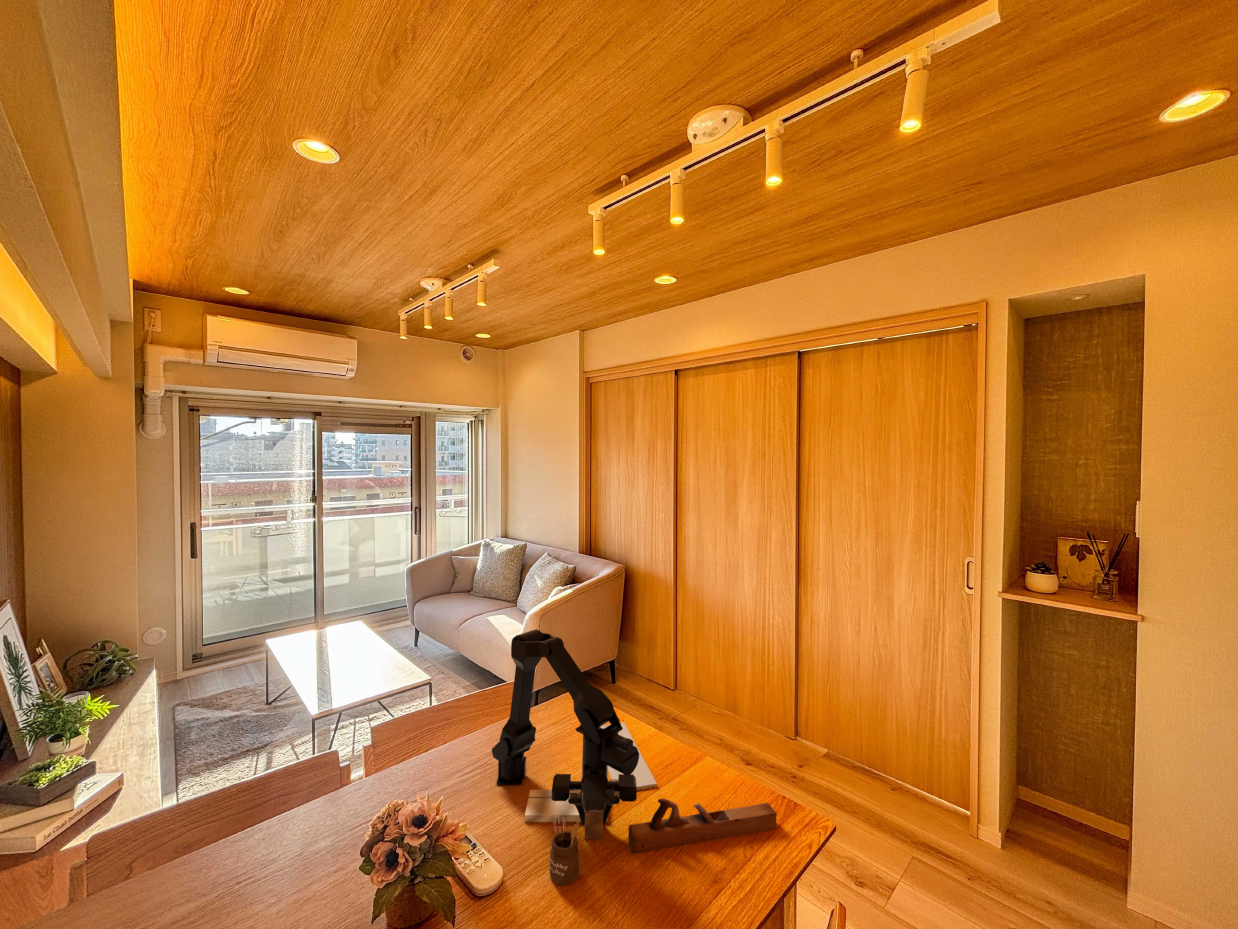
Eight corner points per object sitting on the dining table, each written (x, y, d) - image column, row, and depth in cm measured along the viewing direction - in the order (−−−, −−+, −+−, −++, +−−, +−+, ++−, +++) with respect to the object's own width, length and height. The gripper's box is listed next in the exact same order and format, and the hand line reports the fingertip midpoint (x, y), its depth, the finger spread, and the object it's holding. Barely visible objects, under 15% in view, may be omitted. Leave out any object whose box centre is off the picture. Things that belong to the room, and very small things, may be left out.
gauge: (584, 839, 114) (585, 812, 114) (584, 800, 127) (584, 776, 127) (602, 839, 115) (603, 812, 114) (600, 799, 128) (601, 775, 127)
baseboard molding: (611, 796, 130) (656, 789, 133) (611, 785, 130) (657, 778, 133) (586, 731, 160) (623, 727, 163) (586, 722, 160) (624, 718, 163)
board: (524, 822, 119) (524, 815, 119) (530, 796, 128) (530, 789, 128) (607, 822, 120) (607, 814, 120) (607, 796, 129) (607, 789, 129)
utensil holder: (564, 858, 109) (565, 801, 109) (586, 874, 105) (587, 815, 105) (543, 875, 104) (544, 816, 104) (565, 892, 100) (566, 831, 100)
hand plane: (634, 861, 109) (635, 814, 109) (627, 843, 114) (628, 798, 114) (777, 830, 119) (778, 787, 119) (764, 815, 124) (765, 773, 124)
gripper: (549, 777, 108) (548, 851, 109) (639, 778, 109) (637, 852, 109) (554, 747, 119) (553, 815, 120) (635, 748, 120) (634, 815, 120)
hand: (593, 824), depth 117 cm, fingers closed on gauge, 4 cm apart
